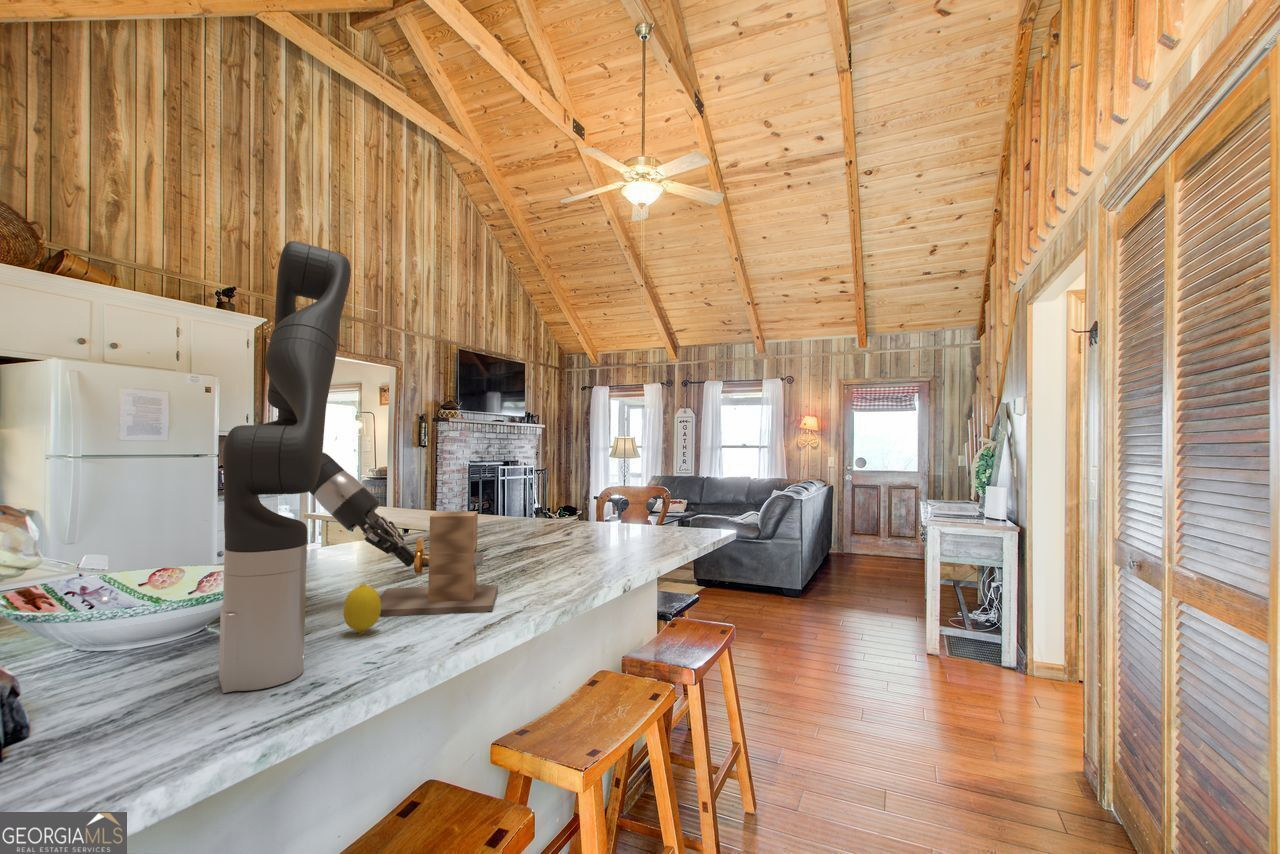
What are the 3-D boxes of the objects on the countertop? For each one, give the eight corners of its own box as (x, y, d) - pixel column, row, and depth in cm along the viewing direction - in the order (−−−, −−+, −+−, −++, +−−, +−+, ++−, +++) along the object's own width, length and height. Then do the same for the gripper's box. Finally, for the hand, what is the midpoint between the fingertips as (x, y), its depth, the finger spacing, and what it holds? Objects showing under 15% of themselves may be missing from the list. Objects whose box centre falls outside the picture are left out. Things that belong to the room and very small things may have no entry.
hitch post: (365, 617, 104) (367, 520, 104) (387, 594, 119) (389, 510, 120) (492, 611, 107) (493, 518, 108) (497, 590, 123) (499, 508, 124)
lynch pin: (413, 576, 111) (414, 541, 111) (418, 570, 115) (419, 537, 115) (481, 574, 113) (482, 539, 113) (483, 568, 117) (484, 535, 118)
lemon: (370, 639, 92) (371, 588, 92) (335, 638, 92) (337, 587, 92) (386, 628, 98) (387, 580, 98) (353, 627, 98) (354, 579, 98)
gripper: (351, 488, 105) (421, 555, 107) (371, 483, 118) (433, 543, 120) (319, 518, 104) (390, 585, 106) (343, 510, 117) (406, 569, 119)
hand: (413, 562), depth 113 cm, fingers closed
